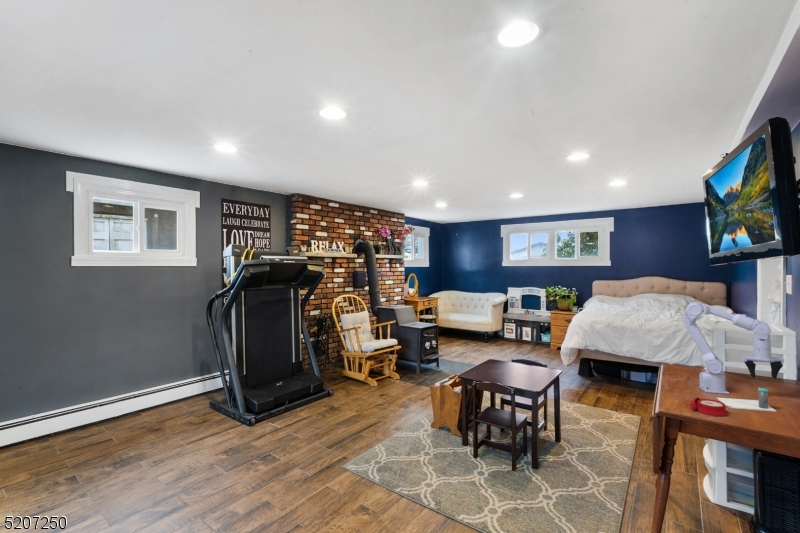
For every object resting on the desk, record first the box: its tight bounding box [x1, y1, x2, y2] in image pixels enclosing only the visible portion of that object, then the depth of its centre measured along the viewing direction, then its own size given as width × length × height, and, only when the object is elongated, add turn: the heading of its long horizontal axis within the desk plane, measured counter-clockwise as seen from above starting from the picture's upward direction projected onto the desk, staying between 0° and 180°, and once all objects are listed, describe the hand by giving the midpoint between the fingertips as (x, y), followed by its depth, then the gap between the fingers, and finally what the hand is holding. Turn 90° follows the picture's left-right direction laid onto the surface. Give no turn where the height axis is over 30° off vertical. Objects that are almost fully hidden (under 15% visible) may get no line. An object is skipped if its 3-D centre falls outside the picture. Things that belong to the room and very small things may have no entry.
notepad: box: [716, 397, 777, 413], centre depth 165 cm, size 16×12×1 cm
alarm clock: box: [683, 397, 731, 417], centre depth 161 cm, size 10×6×15 cm
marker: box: [757, 387, 769, 409], centre depth 161 cm, size 3×3×8 cm
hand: (763, 377), depth 172 cm, fingers open, 7 cm apart
